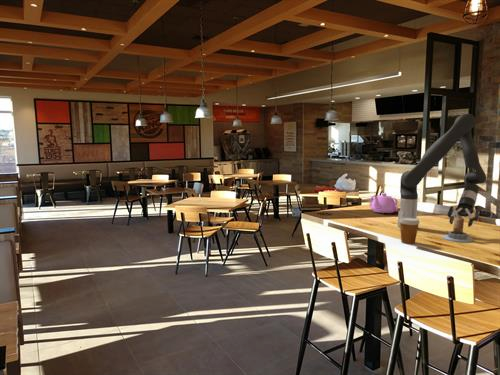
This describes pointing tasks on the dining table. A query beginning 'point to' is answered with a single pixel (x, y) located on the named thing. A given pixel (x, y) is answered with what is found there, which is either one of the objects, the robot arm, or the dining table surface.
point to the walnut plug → (458, 226)
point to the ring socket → (457, 237)
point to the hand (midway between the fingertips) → (459, 224)
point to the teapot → (383, 204)
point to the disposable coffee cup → (408, 229)
